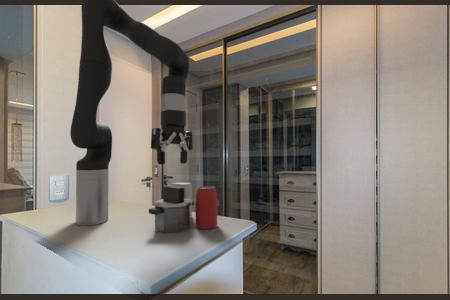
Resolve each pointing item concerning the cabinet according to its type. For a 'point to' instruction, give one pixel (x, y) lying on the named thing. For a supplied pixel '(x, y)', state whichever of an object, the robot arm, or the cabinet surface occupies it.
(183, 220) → the pot
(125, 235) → the cabinet surface
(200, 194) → the beer can
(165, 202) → the lid
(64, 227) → the cabinet surface
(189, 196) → the skincare box
